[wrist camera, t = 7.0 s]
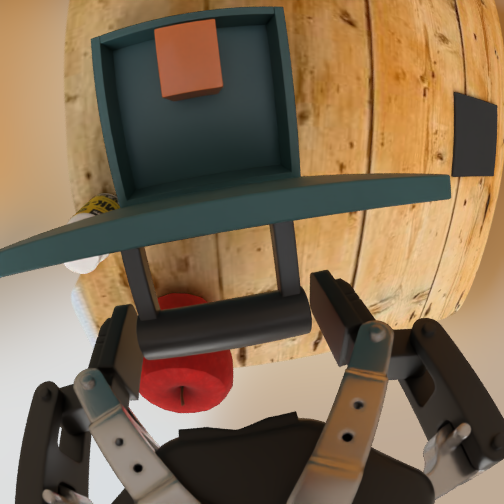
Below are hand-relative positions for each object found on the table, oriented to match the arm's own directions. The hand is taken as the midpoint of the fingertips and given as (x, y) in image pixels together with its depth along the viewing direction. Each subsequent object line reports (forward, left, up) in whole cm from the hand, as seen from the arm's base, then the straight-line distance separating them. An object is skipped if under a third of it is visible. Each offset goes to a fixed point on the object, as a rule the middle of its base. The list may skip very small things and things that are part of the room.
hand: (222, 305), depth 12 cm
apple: (+14, -6, -17) cm, 23 cm away
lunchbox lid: (-4, 0, -5) cm, 6 cm away
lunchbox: (-9, 0, -17) cm, 19 cm away
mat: (-5, +38, -17) cm, 42 cm away
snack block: (-12, 0, -16) cm, 20 cm away
